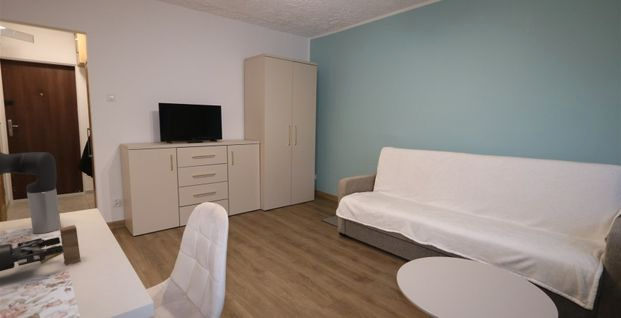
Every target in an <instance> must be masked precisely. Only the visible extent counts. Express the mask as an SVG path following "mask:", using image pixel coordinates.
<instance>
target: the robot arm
mask: <svg viewBox="0 0 621 318" xmlns="http://www.w3.org/2000/svg"><path fill="white" fill-rule="evenodd" d="M5 174H17V175H18V174H21V175H30V176H31V175H36V180H35V181H34V182H32V183H29V184H27V185H26V187H25V188H26V194H27V199H28V200H27V202H28V207H29V214H30V220H31V228H32V233H34V234H47V233H51V232H54V231H57V230H60V228H61V227H62V223H61V215H60V210H59V200H58V193H57V187H56V186H57V180H58V178H57V177H58V176H57V164H56V159H55V157H54V155H53V154H51V153H49V152H45V151H43V152H41V151H40V152H39V151H38V152H37V151H36V152H35V151H34V152H32V151H30V152H21V153H4V152H1V151H0V176H1V175H5ZM60 243H61V237H59V236H56V237H51V238H48V239H42V237H39V238H35V239H31V240H27V241H22V242H18V243H17V246H16V247H14V248H13V245H12V244H11V243H6V244H1V245H0V272H3V271H7V270H12V269H14V268H15V267H16V266H15V265H16V263H17V264H18V267H19V266H25V265H29V264H33V263H37V262H40V261H42V260H45V258H46V257H47V256H49V255H53V254H57V253H61V252H62V251H63V249H62V244H61V245H60ZM51 246H55V247H51ZM49 247H51V248H49ZM46 249H47V250H46ZM61 254H62V253H61Z"/></svg>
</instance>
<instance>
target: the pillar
mask: <svg viewBox="0 0 621 318" xmlns="http://www.w3.org/2000/svg"><path fill="white" fill-rule="evenodd" d="M59 234H60V242H61V246H62V248H63V253H62V254H63V262H64V264H65V266H69V265H70V266H71V265H73V264H77V263H80V262H82V261H81V254H80V253H81V252H80V246H79V237H78V231H77V227H76V225H75V224H72V225H67V226H61V228H59Z"/></svg>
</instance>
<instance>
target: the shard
mask: <svg viewBox="0 0 621 318" xmlns="http://www.w3.org/2000/svg"><path fill="white" fill-rule="evenodd" d="M55 246H56V245H52V246H48V248H51V247H55ZM45 249H46V250H47V248H45ZM62 249H63V248H62ZM61 254H63V251H62V252H61V253H57V254H53V255H49V256H47V257H46V258H45V260H42V261H39V262H40V263H41V264H44V263H45V262H48V261H49V260H51V259H53V258H54V257H56V256H59V255H61Z"/></svg>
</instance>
